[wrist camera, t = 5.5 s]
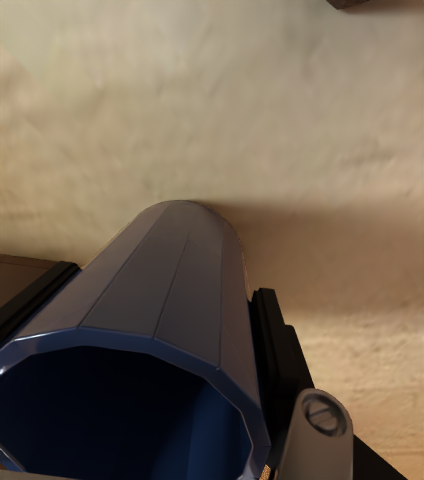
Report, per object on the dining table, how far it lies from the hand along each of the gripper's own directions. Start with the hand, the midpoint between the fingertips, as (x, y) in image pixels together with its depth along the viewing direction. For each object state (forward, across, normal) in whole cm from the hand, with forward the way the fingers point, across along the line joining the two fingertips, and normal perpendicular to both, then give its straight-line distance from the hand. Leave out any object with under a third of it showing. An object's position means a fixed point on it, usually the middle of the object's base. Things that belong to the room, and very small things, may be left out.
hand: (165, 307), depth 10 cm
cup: (+4, 0, 0) cm, 4 cm away
